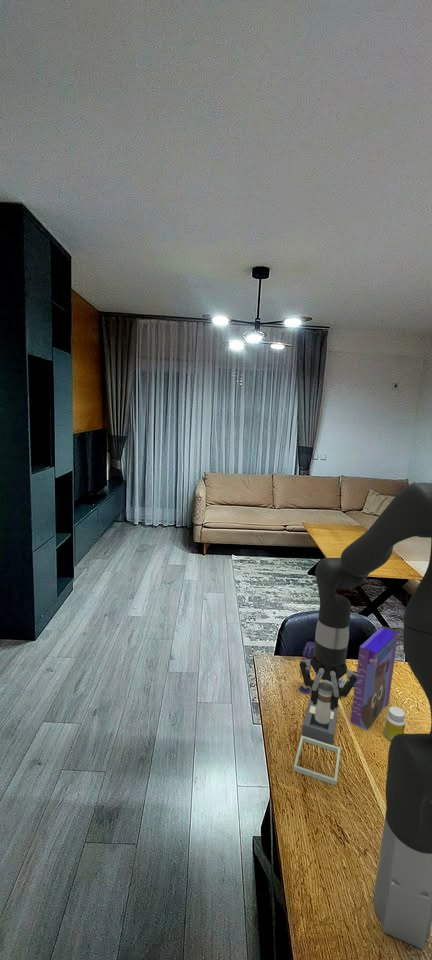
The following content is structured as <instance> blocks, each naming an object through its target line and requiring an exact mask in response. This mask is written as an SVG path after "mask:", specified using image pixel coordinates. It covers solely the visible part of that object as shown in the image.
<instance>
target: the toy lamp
mask: <svg viewBox="0 0 432 960" xmlns="http://www.w3.org/2000/svg"><path fill="white" fill-rule="evenodd" d="M314 643H315V642H314V641H307V642H306V643H305V646H304V648H303V650H302V652H301V653H302V654H301V655H302V658H305V659H306V660H307V659H311V658H312V656H313V652H314ZM308 670H309V673H310V674H311V670H312V666H311V665H310V667H309V669H308ZM298 691H299V692H300V693H301V694H304V695H309V694H310V695H311V691H312V689H311V688H310V687H309V686H305V684H304V680H303V683H302V685H300V686H299V688H298Z"/></svg>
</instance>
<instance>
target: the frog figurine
mask: <svg viewBox="0 0 432 960" xmlns="http://www.w3.org/2000/svg"><path fill="white" fill-rule="evenodd" d="M346 681H347V680H346V679H345V678H344V677H343V676H342V677H341V678H340V679H339V686H340V688H342V687H343V686H344V685H345V683H346ZM322 682H327V683H330V684H331V685H332V682H329V681H328V680H322Z"/></svg>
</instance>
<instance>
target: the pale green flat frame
mask: <svg viewBox="0 0 432 960" xmlns="http://www.w3.org/2000/svg"><path fill="white" fill-rule="evenodd" d="M303 742H304V743H306V744H307V743H308V744H310V745H313V746H317V747H319V748H322V749H325V750H329V751H331V752H335V753H337V754H336V761H335V763H336V764H335V770H334V777H330V776H328V775H325V774H322V773H319V772H316V771H313V770H311V769H307V768H304V767H301V766H299V765H298V764H299V763H298V762H299V759H300V754H301V751H302V747H303ZM341 749H342V748H341V747H339V746H335V745H331V744H328V743H325V742H322V741H319V740H316V739H312V738H309V737H306V736H303V735H302V734H301V735H300V739H299V743H298V747H297V751H296V755H295V760H294V764H293V767H292V768H293V769H292V771H294V772H296V773H299V774H302V775H304V776H308V777H311V778H314V779H316V780H320V781H322V782H325V783H328V784H331V785H333V786H337V784H338V783H337V782H338V772H339V765H340V764H339V763H340V756H341Z"/></svg>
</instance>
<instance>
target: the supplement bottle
mask: <svg viewBox="0 0 432 960" xmlns="http://www.w3.org/2000/svg"><path fill="white" fill-rule="evenodd" d="M387 712H388V713H387V714H386V717H385V724H384V731H383V735H384V737H385V739H387V740H388V741H390V742H391V741H392V739H393V738H394V736H396V735H398V734H405V728H406V720H405V718H406V717H405V714H406V712H405V711H404V710H403V709H402V708H400V707H397V706H391V707H388V711H387Z"/></svg>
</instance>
